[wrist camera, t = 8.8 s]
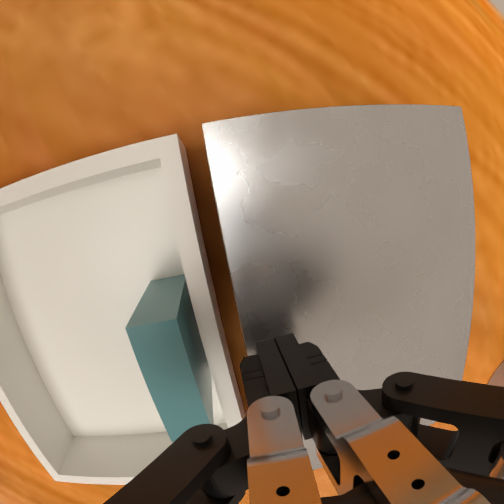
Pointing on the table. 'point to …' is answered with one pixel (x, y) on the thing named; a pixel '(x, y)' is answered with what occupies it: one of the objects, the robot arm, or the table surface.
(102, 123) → the table surface
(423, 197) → the gray rectangular block
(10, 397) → the box
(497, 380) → the coffee cup
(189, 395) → the block
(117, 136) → the table surface
